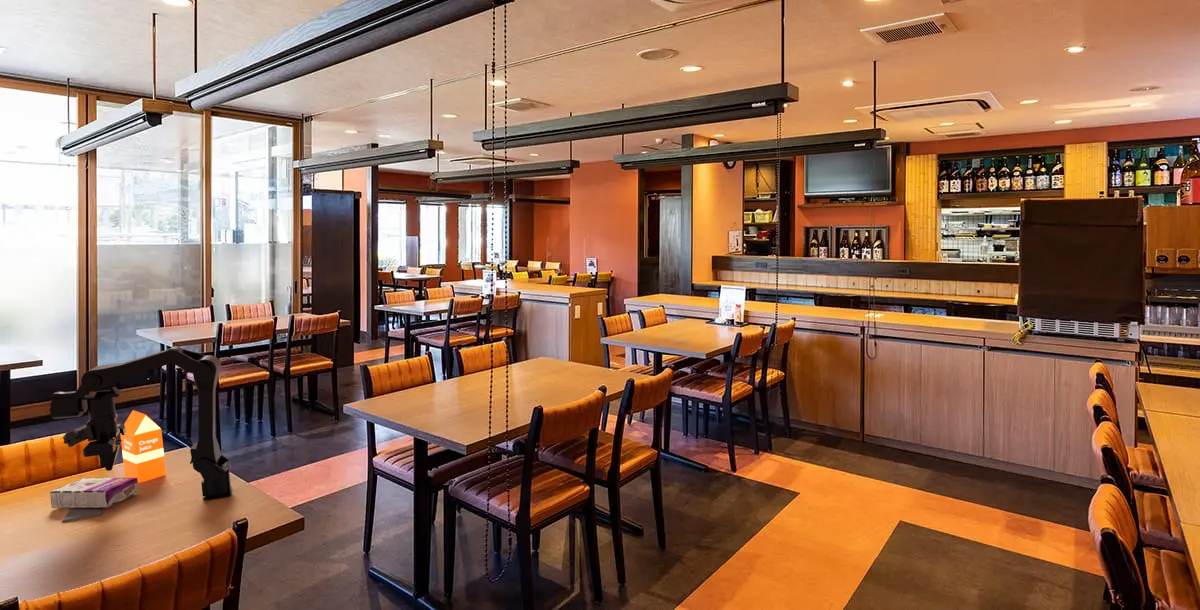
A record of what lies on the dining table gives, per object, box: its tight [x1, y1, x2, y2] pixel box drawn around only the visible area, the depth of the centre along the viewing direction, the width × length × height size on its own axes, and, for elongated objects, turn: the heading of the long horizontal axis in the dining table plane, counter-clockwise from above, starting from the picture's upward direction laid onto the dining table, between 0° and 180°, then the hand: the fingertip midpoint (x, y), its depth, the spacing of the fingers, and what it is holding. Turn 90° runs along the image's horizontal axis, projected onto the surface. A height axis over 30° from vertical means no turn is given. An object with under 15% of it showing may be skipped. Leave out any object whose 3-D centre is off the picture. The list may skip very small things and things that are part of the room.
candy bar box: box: [49, 477, 140, 509], centre depth 182 cm, size 11×5×16 cm
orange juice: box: [119, 409, 167, 484], centre depth 200 cm, size 8×9×20 cm
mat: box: [61, 508, 105, 523], centre depth 177 cm, size 8×9×1 cm
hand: (109, 470), depth 178 cm, fingers closed
